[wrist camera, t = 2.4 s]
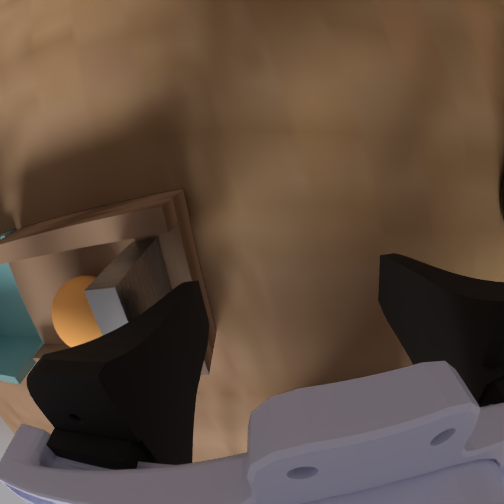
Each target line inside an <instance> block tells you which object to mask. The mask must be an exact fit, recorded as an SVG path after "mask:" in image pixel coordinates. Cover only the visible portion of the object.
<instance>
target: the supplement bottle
mask: <svg viewBox="0 0 504 504" xmlns="http://www.w3.org/2000/svg"><path fill="white" fill-rule="evenodd" d="M501 211H502V216H503V220H504V175H503V179H502V185H501Z"/></svg>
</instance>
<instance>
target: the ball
mask: <svg viewBox="0 0 504 504" xmlns="http://www.w3.org/2000/svg"><path fill="white" fill-rule="evenodd" d="M95 278H96V277H94V276H78V277H75V278H72V279H70V280H68V281H67V282H66V283H64V284H63V285H62V286H61V287H60V288H59V290H58V291H57V293H56V295H55V297H54V300H53V304H52V321H53V325H54V328H55V330H56V332H57V334H58V335H59V337H60V338H61V339H62V340H63V341H64V342H65V343H66V344H67V345H68V346H70V347H74V346H77V345H80V344H83V343H86V342H89V341H91V340H94V339H96V338H99V337H101V336H103V335H102V333H101V331H100V329H99V326H98V324H97V322H96V319H95V317H94V315H93V312H92V310H91V308H90V305H89V303H88V300H87V298H86V295H85V293H84V290H85V289H86V288H87V287H88V286H89V285H90V284H91V283H92V282H93V281H94V279H95Z"/></svg>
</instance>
